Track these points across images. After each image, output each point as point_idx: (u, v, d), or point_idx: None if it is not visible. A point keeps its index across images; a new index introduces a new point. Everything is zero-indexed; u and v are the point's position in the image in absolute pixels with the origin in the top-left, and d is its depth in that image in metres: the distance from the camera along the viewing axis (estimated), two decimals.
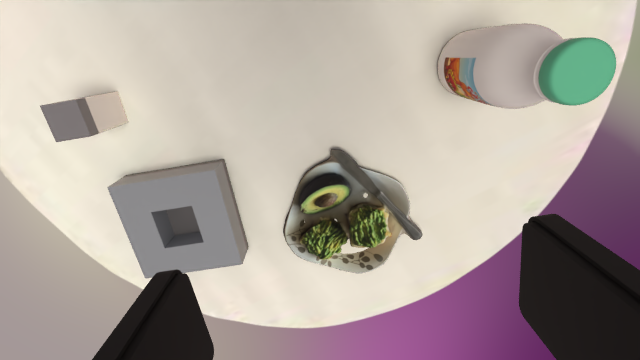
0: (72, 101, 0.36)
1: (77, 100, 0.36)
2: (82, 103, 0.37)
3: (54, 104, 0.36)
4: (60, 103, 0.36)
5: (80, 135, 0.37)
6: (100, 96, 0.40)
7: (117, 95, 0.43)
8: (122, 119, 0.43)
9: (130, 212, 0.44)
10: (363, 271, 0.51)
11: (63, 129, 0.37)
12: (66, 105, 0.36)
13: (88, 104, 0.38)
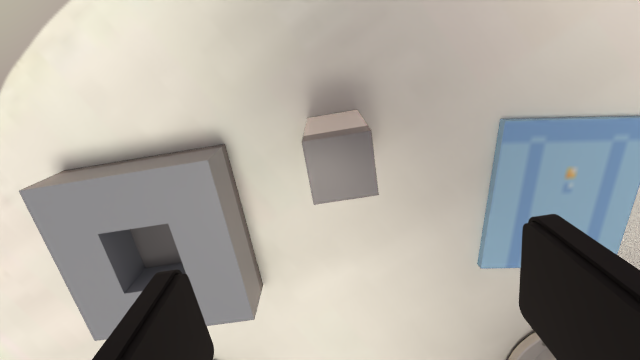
0: (375, 189, 0.20)
1: None
2: None
3: (372, 157, 0.20)
4: (373, 168, 0.20)
5: (315, 187, 0.20)
6: None
7: None
8: None
9: (161, 189, 0.24)
10: None
11: (326, 161, 0.20)
12: (369, 177, 0.20)
13: None
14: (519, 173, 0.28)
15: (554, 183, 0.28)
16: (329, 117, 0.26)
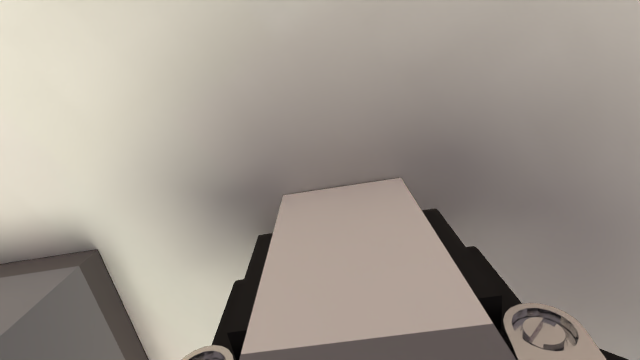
0: None
1: None
2: None
3: None
4: None
5: None
6: None
7: None
8: None
9: None
10: None
11: None
12: None
13: None
14: None
15: None
16: (335, 206, 0.10)
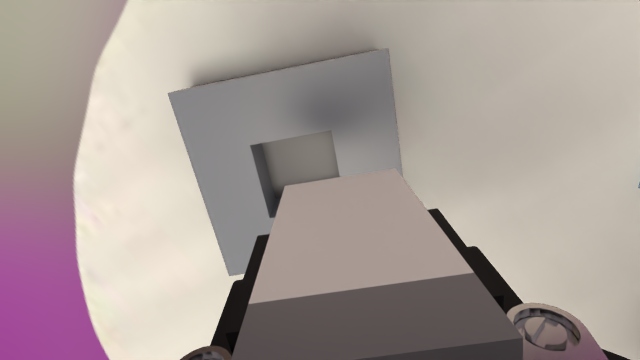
0: None
1: None
2: None
3: None
4: None
5: None
6: None
7: None
8: None
9: (330, 87, 0.21)
10: None
11: None
12: None
13: None
14: None
15: None
16: (334, 192, 0.11)
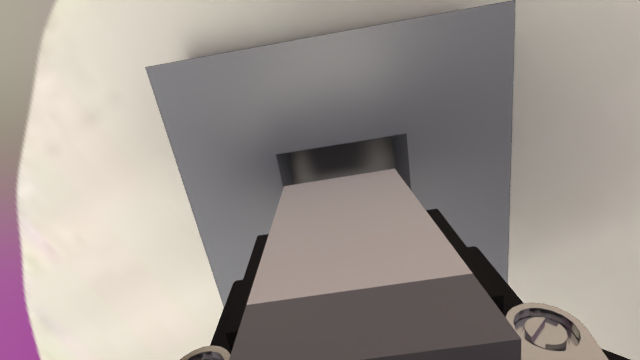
0: None
1: None
2: None
3: None
4: None
5: None
6: None
7: None
8: None
9: (411, 64, 0.13)
10: None
11: None
12: None
13: None
14: None
15: None
16: (333, 193, 0.11)
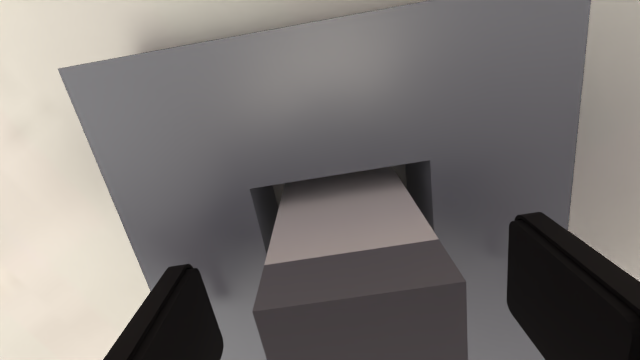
0: None
1: None
2: None
3: (461, 348, 0.07)
4: None
5: None
6: None
7: None
8: None
9: (439, 64, 0.09)
10: None
11: (326, 357, 0.07)
12: None
13: None
14: None
15: None
16: (331, 178, 0.12)
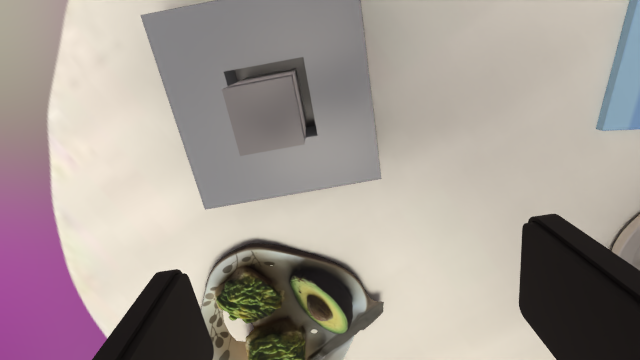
0: (301, 138, 0.20)
1: None
2: None
3: (294, 104, 0.20)
4: (297, 116, 0.20)
5: (239, 138, 0.20)
6: None
7: None
8: None
9: (301, 12, 0.22)
10: None
11: (248, 109, 0.20)
12: (293, 125, 0.20)
13: None
14: None
15: None
16: (265, 75, 0.25)
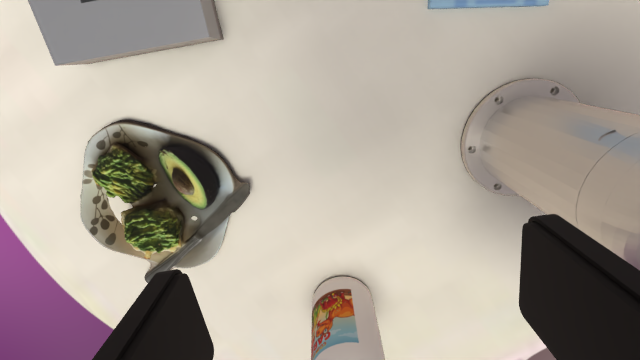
0: None
1: None
2: None
3: None
4: None
5: None
6: None
7: None
8: None
9: None
10: (86, 224, 0.39)
11: None
12: None
13: None
14: None
15: None
16: None
